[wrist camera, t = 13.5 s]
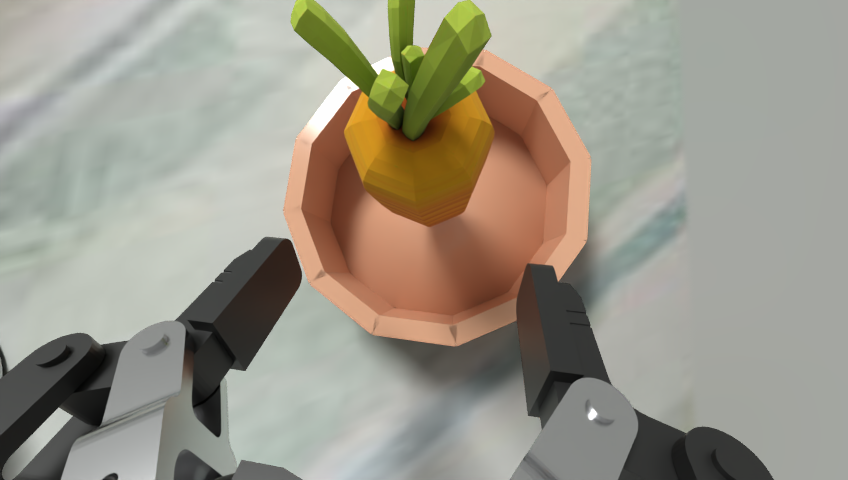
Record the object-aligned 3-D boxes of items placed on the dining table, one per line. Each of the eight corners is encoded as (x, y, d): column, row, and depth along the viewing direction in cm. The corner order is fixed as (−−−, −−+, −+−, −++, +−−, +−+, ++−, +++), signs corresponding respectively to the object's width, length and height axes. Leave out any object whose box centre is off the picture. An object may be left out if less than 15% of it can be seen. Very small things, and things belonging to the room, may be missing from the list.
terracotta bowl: (309, 310, 21) (264, 319, 16) (342, 95, 23) (311, 44, 18) (548, 342, 19) (580, 363, 14) (563, 105, 21) (596, 52, 16)
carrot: (383, 208, 20) (195, 19, 5) (435, 156, 20) (390, -166, 6) (435, 261, 20) (380, 205, 5) (489, 207, 20) (602, -13, 5)
